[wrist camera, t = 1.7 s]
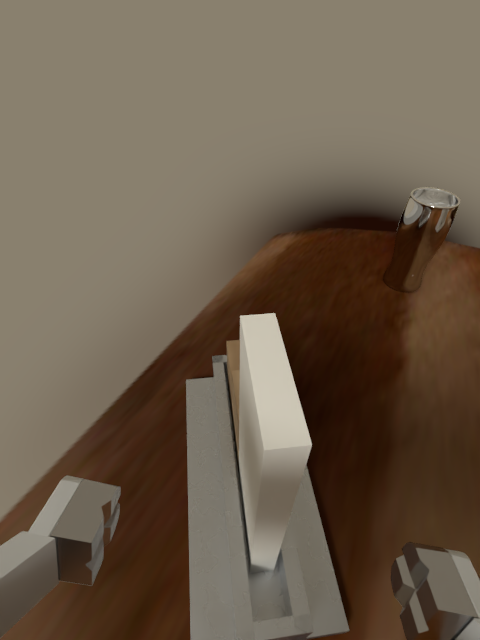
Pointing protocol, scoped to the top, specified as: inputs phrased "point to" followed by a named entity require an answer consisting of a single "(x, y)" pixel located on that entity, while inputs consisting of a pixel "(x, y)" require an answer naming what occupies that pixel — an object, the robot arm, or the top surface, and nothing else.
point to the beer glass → (420, 236)
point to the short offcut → (232, 364)
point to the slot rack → (231, 548)
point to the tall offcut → (236, 410)
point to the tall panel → (268, 439)
